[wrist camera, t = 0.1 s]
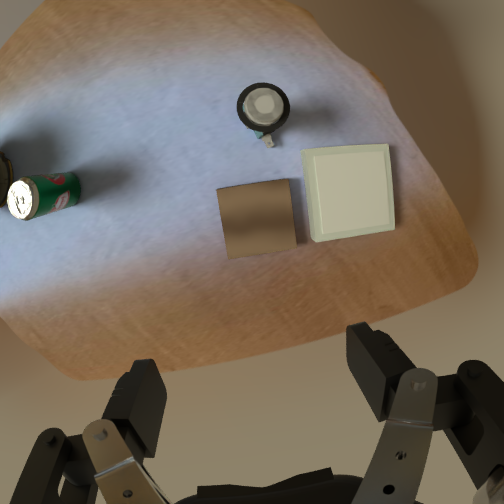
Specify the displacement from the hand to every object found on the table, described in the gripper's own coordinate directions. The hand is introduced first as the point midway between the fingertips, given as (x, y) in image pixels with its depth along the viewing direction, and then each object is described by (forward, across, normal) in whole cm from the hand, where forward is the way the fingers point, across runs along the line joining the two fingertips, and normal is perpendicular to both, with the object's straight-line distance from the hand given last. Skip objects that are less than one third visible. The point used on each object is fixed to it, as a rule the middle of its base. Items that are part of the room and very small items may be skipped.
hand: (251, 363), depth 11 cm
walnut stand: (+29, -3, -1) cm, 29 cm away
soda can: (+29, +23, -10) cm, 39 cm away
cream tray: (+29, -16, -2) cm, 33 cm away
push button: (+29, -5, -13) cm, 32 cm away
